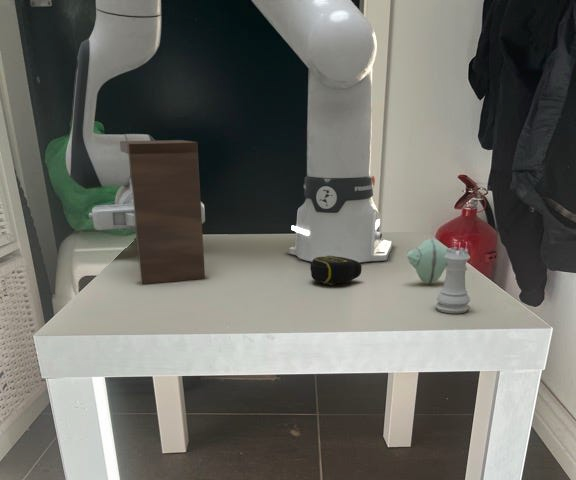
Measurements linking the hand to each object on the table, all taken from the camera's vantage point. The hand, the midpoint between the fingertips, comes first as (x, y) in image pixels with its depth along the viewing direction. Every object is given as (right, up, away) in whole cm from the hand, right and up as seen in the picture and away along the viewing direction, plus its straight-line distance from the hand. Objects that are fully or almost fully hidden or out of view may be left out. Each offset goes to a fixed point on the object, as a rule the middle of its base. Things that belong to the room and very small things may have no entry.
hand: (155, 220), depth 112 cm
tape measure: (+30, -12, -11) cm, 35 cm away
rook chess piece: (+45, -19, -26) cm, 55 cm away
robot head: (+45, -13, -13) cm, 48 cm away
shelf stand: (+3, -10, -5) cm, 12 cm away
